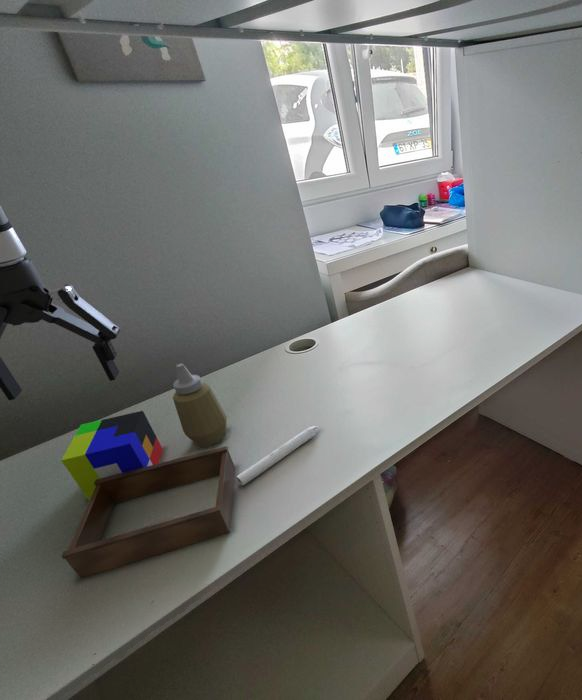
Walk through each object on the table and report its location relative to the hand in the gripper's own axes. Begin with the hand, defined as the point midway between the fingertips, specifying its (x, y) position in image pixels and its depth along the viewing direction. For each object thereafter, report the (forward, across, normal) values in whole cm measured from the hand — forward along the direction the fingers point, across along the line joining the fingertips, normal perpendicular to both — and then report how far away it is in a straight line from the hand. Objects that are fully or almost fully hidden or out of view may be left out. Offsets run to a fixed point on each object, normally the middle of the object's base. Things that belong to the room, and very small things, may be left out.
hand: (66, 385), depth 73 cm
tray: (+21, +10, -14) cm, 27 cm away
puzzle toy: (+21, +1, 0) cm, 21 cm away
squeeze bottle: (+21, +15, +5) cm, 27 cm away
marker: (+21, +29, -7) cm, 37 cm away
